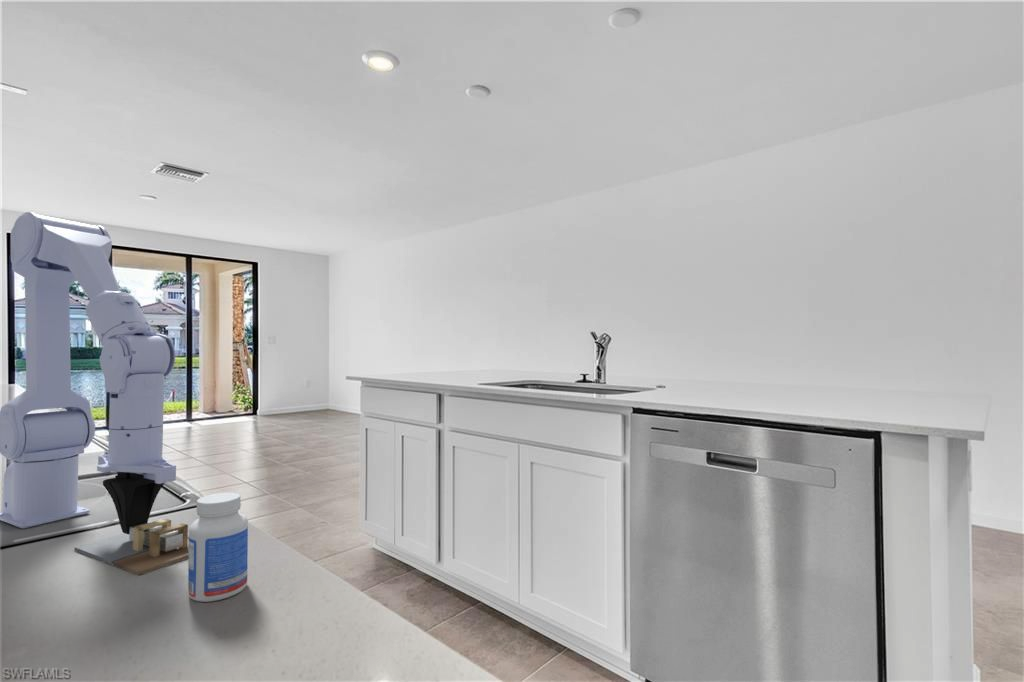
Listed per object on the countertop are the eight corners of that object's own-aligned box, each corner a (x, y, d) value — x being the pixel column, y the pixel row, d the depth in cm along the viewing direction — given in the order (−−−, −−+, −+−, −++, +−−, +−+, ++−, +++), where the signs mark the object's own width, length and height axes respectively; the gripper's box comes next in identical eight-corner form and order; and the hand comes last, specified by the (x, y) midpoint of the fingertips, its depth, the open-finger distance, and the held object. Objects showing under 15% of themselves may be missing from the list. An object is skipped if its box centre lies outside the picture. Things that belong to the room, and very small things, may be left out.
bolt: (129, 539, 65) (129, 527, 65) (146, 534, 67) (146, 522, 67) (165, 551, 62) (165, 538, 62) (182, 546, 63) (182, 533, 63)
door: (74, 550, 64) (75, 525, 64) (160, 526, 72) (160, 504, 72) (111, 564, 60) (112, 537, 60) (197, 537, 68) (198, 513, 69)
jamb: (113, 565, 59) (114, 538, 59) (199, 537, 68) (199, 514, 68) (139, 575, 57) (139, 547, 57) (224, 545, 66) (225, 521, 66)
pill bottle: (258, 580, 56) (259, 491, 56) (225, 605, 51) (227, 506, 51) (211, 577, 57) (213, 489, 57) (174, 601, 51) (176, 504, 51)
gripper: (71, 426, 66) (68, 530, 66) (132, 436, 60) (130, 552, 60) (132, 419, 73) (129, 515, 73) (193, 428, 66) (191, 533, 66)
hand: (134, 531), depth 67 cm, fingers closed
